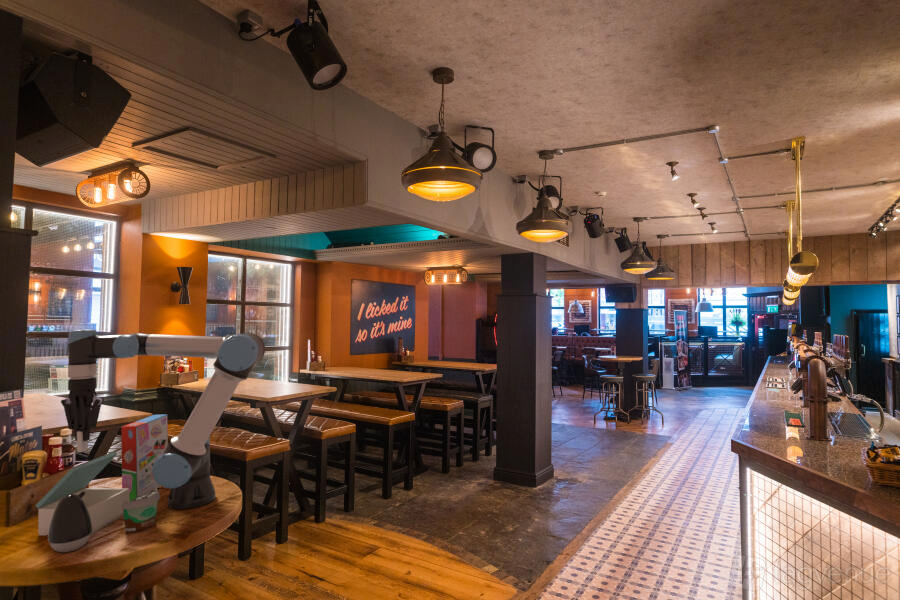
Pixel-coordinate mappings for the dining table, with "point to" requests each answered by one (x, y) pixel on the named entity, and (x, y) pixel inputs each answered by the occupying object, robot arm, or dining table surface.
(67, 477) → the box lid
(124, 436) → the game box
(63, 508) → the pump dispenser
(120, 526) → the dining table surface
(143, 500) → the food container
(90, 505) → the cream box
